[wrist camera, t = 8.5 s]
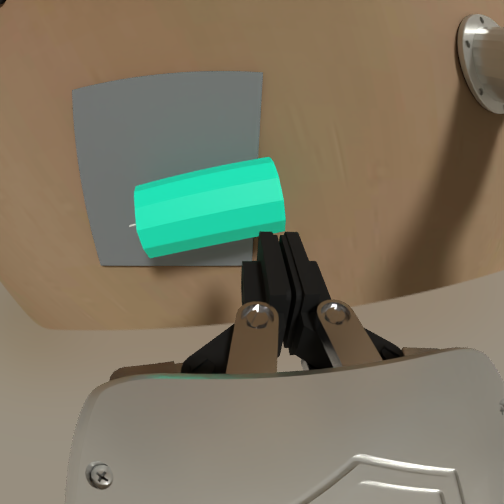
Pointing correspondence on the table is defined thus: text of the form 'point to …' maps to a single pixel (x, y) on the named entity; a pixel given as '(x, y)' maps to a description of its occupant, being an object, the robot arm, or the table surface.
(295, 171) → the table surface
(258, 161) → the candle
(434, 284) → the table surface
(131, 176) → the mat
